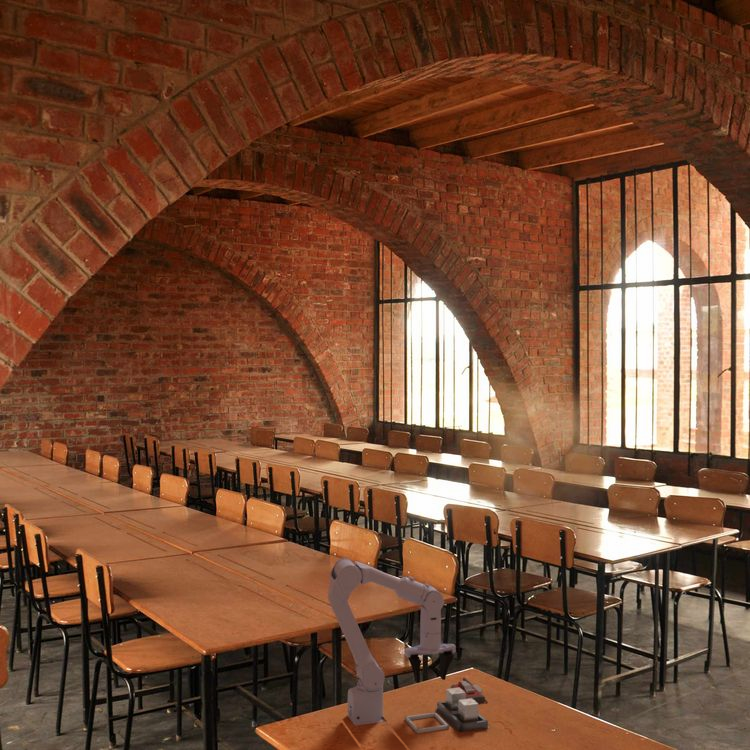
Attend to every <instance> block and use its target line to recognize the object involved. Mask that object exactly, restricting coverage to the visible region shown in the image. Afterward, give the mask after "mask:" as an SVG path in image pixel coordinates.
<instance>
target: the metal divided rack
mask: <svg viewBox="0 0 750 750" xmlns="http://www.w3.org/2000/svg"><path fill="white" fill-rule="evenodd" d="M434 710H435V712H436V713H437V714H438V715H439V716H440V717H441V718H442V717H443V719H444V720H445V721H446V722H448V724H449V725H450V726H452V728H454V730H455V731H457V732H458V733H466V732H472V731H473V732H474V731H481V730H486V729H490V726H489V721H488V720H487V719H486V718H485V717H483V716H482V715H481V713H479V712H478V721H477V722H470V723H463V724H462V723H461V722H460V721H459V720H458V711H452V712H450V711H449V710H448V709H447V708H446V700H445V701H437V703H436V708H435V709H434Z"/></svg>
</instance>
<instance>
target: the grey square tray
mask: <svg viewBox="0 0 750 750" xmlns="http://www.w3.org/2000/svg"><path fill="white" fill-rule="evenodd" d="M427 718H435V719H437V721H438V722H439V723H440V724H441V725H435V726H429V727H422V728H418V727H417V725H416V724H415V723H414V722H413V721H412V720H420V719H427ZM404 721H405V722H406V724H408V725H409V726H410V727H411V729H412V730H413V731H414V732H415V733H416V734H421V733H422V734H423V733H431V732H435V731H444V730H449V729H450V724H449V723H447V721H446V720H445V719H444V718H442V716H441V715H440V714H439V713H438V712H437V711H434V712H431V713H430V712H428V713H423V714H422V713H420V714H415V715H414V714H413V715H406V716H404Z"/></svg>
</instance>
